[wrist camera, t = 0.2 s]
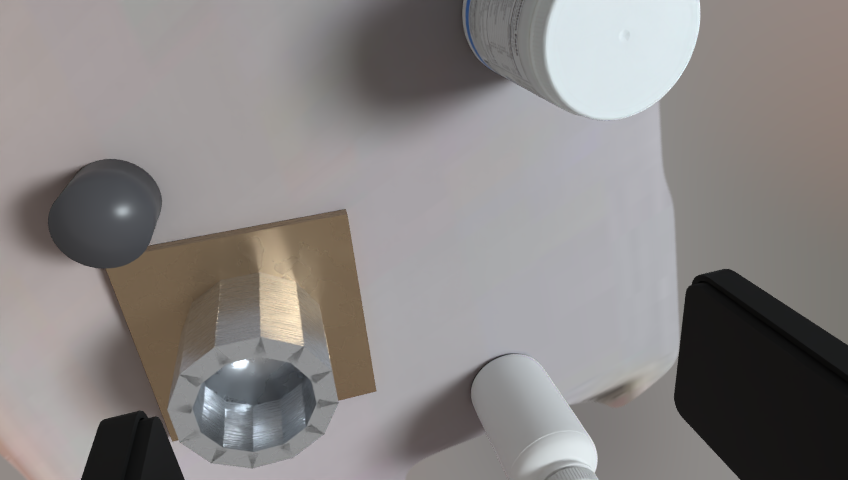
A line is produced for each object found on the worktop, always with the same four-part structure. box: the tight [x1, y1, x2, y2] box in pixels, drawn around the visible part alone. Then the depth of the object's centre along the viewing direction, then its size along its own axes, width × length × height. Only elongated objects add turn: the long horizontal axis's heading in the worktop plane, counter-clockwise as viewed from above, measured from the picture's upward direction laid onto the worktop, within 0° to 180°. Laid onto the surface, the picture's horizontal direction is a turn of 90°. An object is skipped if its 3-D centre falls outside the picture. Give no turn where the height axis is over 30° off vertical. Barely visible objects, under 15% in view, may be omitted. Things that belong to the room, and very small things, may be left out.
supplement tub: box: [462, 0, 700, 121], centre depth 38 cm, size 10×10×15 cm
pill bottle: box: [471, 354, 598, 480], centre depth 53 cm, size 8×8×15 cm
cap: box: [48, 159, 162, 269], centre depth 41 cm, size 6×6×5 cm
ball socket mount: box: [106, 209, 376, 468], centre depth 46 cm, size 18×18×10 cm
